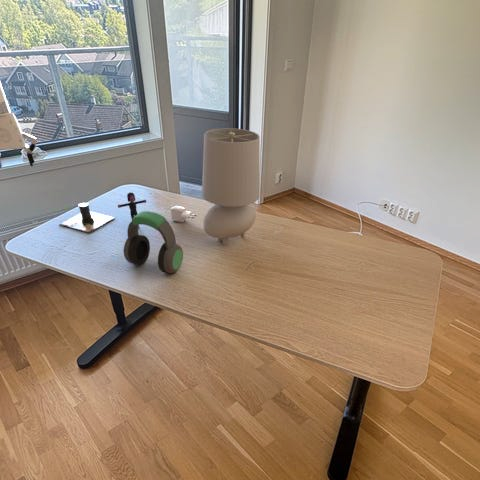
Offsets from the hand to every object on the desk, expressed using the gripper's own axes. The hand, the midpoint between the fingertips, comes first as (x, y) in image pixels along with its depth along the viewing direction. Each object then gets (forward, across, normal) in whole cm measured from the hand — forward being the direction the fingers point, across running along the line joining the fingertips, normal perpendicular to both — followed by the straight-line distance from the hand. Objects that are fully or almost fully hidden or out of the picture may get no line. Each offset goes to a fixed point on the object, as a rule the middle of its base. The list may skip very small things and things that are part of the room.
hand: (16, 166), depth 118 cm
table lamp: (+28, +71, -21) cm, 79 cm away
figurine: (+28, +36, +1) cm, 46 cm away
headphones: (+28, +38, -32) cm, 57 cm away
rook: (+27, +17, +12) cm, 34 cm away
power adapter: (+28, +57, +1) cm, 64 cm away
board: (+28, +17, +12) cm, 35 cm away
